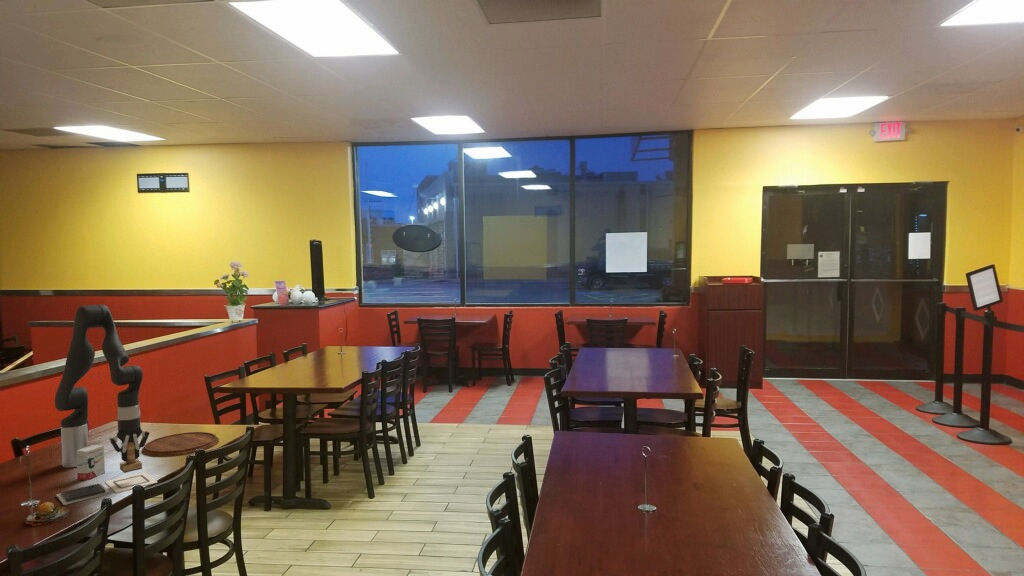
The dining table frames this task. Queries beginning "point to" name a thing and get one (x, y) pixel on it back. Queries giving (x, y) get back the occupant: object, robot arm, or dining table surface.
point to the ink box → (90, 462)
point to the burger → (47, 514)
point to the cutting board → (180, 444)
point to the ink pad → (82, 494)
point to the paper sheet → (130, 482)
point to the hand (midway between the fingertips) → (130, 459)
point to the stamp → (130, 460)
